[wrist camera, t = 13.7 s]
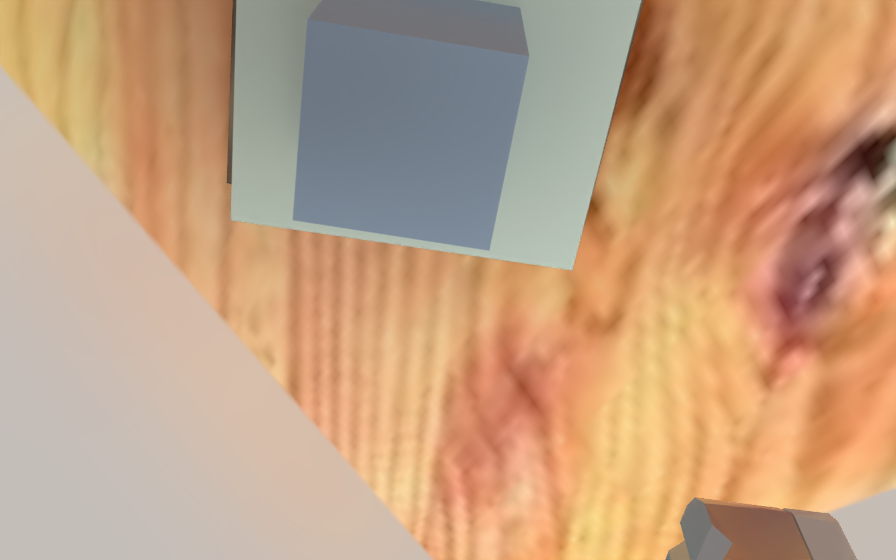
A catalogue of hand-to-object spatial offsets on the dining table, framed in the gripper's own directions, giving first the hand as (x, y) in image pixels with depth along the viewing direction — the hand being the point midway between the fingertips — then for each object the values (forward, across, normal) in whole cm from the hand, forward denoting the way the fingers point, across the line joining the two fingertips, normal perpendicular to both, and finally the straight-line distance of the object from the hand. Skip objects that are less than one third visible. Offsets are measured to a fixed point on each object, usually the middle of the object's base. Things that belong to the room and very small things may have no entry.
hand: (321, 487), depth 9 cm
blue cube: (+17, 0, +1) cm, 17 cm away
